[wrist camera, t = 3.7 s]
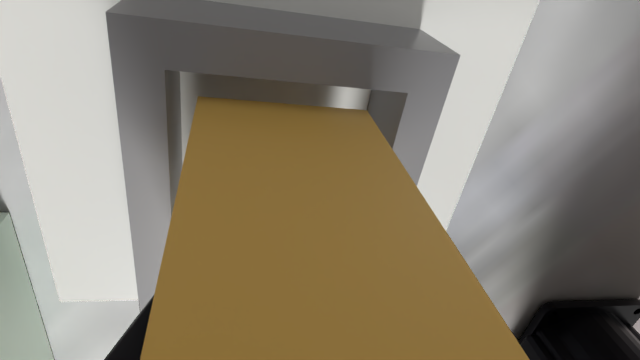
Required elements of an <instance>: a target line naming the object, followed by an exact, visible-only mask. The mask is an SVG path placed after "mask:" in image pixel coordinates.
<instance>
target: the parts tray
mask: <svg viewBox="0 0 640 360" xmlns="http://www.w3.org/2000/svg"><path fill="white" fill-rule="evenodd" d="M0 360H54V357H53V354H52V351H51V348H50V344H49V341H48V338H47V335H46V331H45V328H44V325H43V322H42V318H41V315H40V312H39V308H38V305H37V302H36V299H35V295H34V292H33V289H32V286H31V282H30V279H29V276H28V273H27V269H26V266H25V263H24V260H23V256H22V253H21V250H20V246H19V243H18V240H17V237H16V233H15V230H14V227H13V224H12V220H11V217H10V214H9V213H3V212H0Z"/></svg>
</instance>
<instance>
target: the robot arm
mask: <svg viewBox="0 0 640 360" xmlns="http://www.w3.org/2000/svg"><path fill="white" fill-rule="evenodd" d="M153 298H154V295H153V296H152V298H151V299H150V300H149V302H148V303H147V304H146V306H145V307H144V308H143V309H142V311H141V312H140V313H139V315H138V316H137V317H136V319H135V320H134V321H133V323H132V324H131V325H130V327H129V328H128V329H127V330H126V332H125V333H124V334H123V336H122V337H121V338H120V340H119V341H118V342H117V344H116V345H115V346H114V347H113V349H112V350H111V351H110V353H109V354H108V355H107V357H106V358H105V359H104V360H140V357H141V353H142V348H143V344H144V339H145V335H146V330H147V325H148V321H149V316H150V312H151V307H152V303H153ZM639 318H640V300H638V299H631V300H598V301H565V302H549V303H546V304H544V305H543V306H541V308H540V309H539V310H538V312H537V313H536V315H535V317H534V318H533V320H532V321H531V323H530V324H529V326H528V327H527V329H526V330H525V332H524V334H523V335H522V337H521V338H520V340H519V341H518V343H519V344H520V346H521V347H522V349H523V350H524V352H525V353H526V355H527V356H528V358H529V359H530V360H640V334H639V333H638V332H637V331H636V330H635V329H634V328H633V327H632V326H633V325H634V324H635V323H636V322H637V320H638V319H639Z"/></svg>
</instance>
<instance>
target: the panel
mask: <svg viewBox="0 0 640 360" xmlns="http://www.w3.org/2000/svg"><path fill="white" fill-rule="evenodd" d="M539 2H540V0H0V77H1V81H2V85H3V88H4V92H5V96H6V100H7V104H8V107H9V111H10V115H11V119H12V123H13V126H14V130H15V134H16V138H17V142H18V145H19V149H20V153H21V157H22V161H23V164H24V168H25V172H26V176H27V180H28V183H29V187H30V191H31V195H32V199H33V202H34V206H35V210H36V214H37V218H38V221H39V225H40V229H41V233H42V237H43V240H44V244H45V248H46V252H47V256H48V260H49V263H50V267H51V271H52V275H53V279H54V282H55V286H56V290H57V294H58V298H59V301H60V302H84V301H128V300H139V309H140V312H141V311H142V309H143V308H144V307H145V306H146V304H147V303H148V302H149V300H150V299H151V298H152V296H153V295H154V294H155V289H156V285H157V280H158V275H159V271H160V266H161V262H162V257H163V253H164V248H165V244H166V239H167V234H168V230H169V225H170V221H171V216H172V212H173V207H174V203H175V198H176V194H177V189H178V184H179V180H180V175H181V171H182V166H183V162H184V157H185V153H186V148H187V144H188V139H189V134H190V130H191V125H192V121H193V116H194V112H195V107H196V103H197V98H198V96H201V97H213V98H225V99H237V100H249V101H262V102H274V103H286V104H298V105H310V106H322V107H334V108H346V109H358V110H367V111H368V113H369V114H370V116H371V117H372V119H373V120H374V122H375V123H376V125H377V126H378V128H379V129H380V131H381V132H382V134H383V136H384V137H385V139H386V140H387V142H388V143H389V145H390V146H391V148H392V149H393V151H394V152H395V154H396V155H397V157H398V159H399V160H400V162H401V163H402V165H403V166H404V168H405V169H406V171H407V172H408V174H409V175H410V177H411V178H412V180H413V182H414V183H415V185H416V186H417V188H418V189H419V191H420V192H421V194H422V195H423V197H424V198H425V200H426V201H427V203H428V205H429V206H430V208H431V209H432V211H433V212H434V214H435V215H436V217H437V218H438V220H439V221H440V223H441V225H442V226H443V228H444V229H445V231H446V230H447V227H448V225H449V223H450V220H451V218H452V215H453V213H454V210H455V208H456V205H457V203H458V200H459V198H460V196H461V193H462V191H463V188H464V186H465V183H466V181H467V178H468V176H469V173H470V171H471V169H472V166H473V164H474V161H475V159H476V156H477V154H478V151H479V149H480V146H481V144H482V142H483V139H484V137H485V134H486V132H487V129H488V127H489V124H490V122H491V119H492V117H493V114H494V112H495V110H496V107H497V105H498V102H499V100H500V97H501V95H502V92H503V90H504V87H505V85H506V83H507V80H508V78H509V75H510V73H511V70H512V68H513V65H514V63H515V60H516V58H517V56H518V53H519V51H520V48H521V46H522V43H523V41H524V38H525V36H526V33H527V31H528V29H529V26H530V24H531V21H532V19H533V16H534V14H535V11H536V9H537V6H538V4H539Z"/></svg>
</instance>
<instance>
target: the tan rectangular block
mask: <svg viewBox="0 0 640 360" xmlns="http://www.w3.org/2000/svg"><path fill="white" fill-rule="evenodd" d="M140 360H530V359H529V358H528V356H527V355H526V353H525V352H524V350H523V349H522V347H521V346H520V344H519V343H518V341H517V340H516V338H515V336H514V335H513V333H512V332H511V330H510V329H509V327H508V326H507V324H506V323H505V321H504V320H503V318H502V317H501V315H500V313H499V312H498V310H497V309H496V307H495V306H494V304H493V303H492V301H491V300H490V298H489V297H488V295H487V294H486V292H485V290H484V289H483V287H482V286H481V284H480V283H479V281H478V280H477V278H476V277H475V275H474V274H473V272H472V271H471V269H470V267H469V266H468V264H467V263H466V261H465V260H464V258H463V257H462V255H461V254H460V252H459V251H458V249H457V248H456V246H455V244H454V243H453V241H452V240H451V238H450V237H449V235H448V234H447V232H446V231H445V229H444V228H443V226H442V225H441V223H440V221H439V220H438V218H437V217H436V215H435V214H434V212H433V211H432V209H431V208H430V206H429V205H428V203H427V201H426V200H425V198H424V197H423V195H422V194H421V192H420V191H419V189H418V188H417V186H416V185H415V183H414V182H413V180H412V178H411V177H410V175H409V174H408V172H407V171H406V169H405V168H404V166H403V165H402V163H401V162H400V160H399V159H398V157H397V155H396V154H395V152H394V151H393V149H392V148H391V146H390V145H389V143H388V142H387V140H386V139H385V137H384V136H383V134H382V132H381V131H380V129H379V128H378V126H377V125H376V123H375V122H374V120H373V119H372V117H371V116H370V114H369V113H368V111H367V110H358V109H346V108H334V107H322V106H310V105H298V104H286V103H274V102H262V101H249V100H237V99H225V98H213V97H201V96H198V98H197V103H196V107H195V112H194V116H193V121H192V125H191V130H190V134H189V139H188V144H187V148H186V153H185V157H184V162H183V166H182V171H181V175H180V180H179V184H178V189H177V194H176V198H175V203H174V207H173V212H172V216H171V221H170V225H169V230H168V234H167V239H166V244H165V248H164V253H163V257H162V262H161V266H160V271H159V275H158V280H157V285H156V289H155V294H154V298H153V303H152V307H151V312H150V316H149V321H148V325H147V330H146V335H145V339H144V344H143V348H142V353H141V357H140Z"/></svg>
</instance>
